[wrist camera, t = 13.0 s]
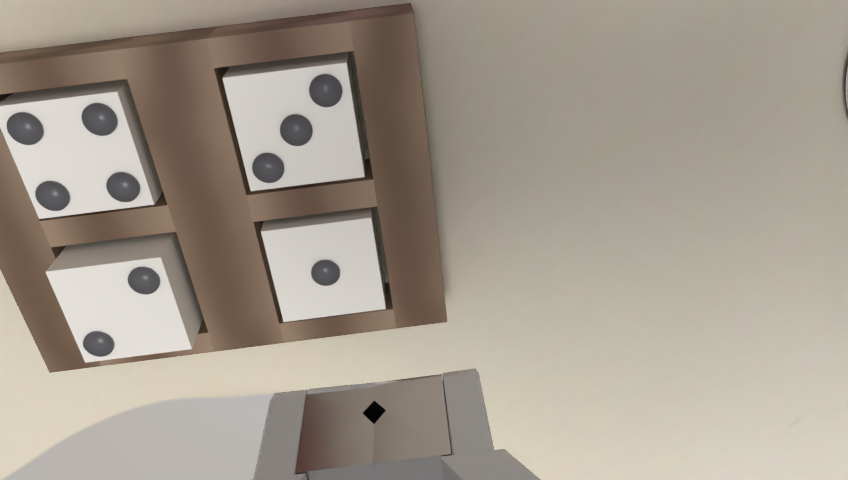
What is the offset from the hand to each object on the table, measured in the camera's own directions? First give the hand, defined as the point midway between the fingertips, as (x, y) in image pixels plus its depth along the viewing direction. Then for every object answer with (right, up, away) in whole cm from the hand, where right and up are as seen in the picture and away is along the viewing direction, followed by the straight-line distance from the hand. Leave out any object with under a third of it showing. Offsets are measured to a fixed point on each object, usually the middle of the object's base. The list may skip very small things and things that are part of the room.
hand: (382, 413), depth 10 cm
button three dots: (-6, +10, +27) cm, 29 cm away
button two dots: (-16, 0, +29) cm, 33 cm away
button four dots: (-17, +8, +26) cm, 32 cm away
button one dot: (-5, +2, +31) cm, 31 cm away
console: (-11, +5, +29) cm, 31 cm away
